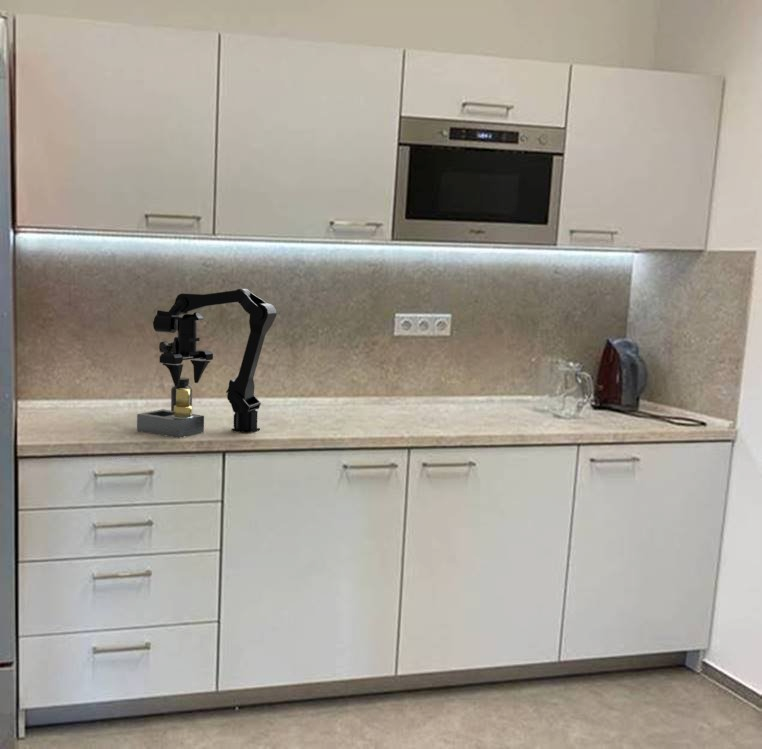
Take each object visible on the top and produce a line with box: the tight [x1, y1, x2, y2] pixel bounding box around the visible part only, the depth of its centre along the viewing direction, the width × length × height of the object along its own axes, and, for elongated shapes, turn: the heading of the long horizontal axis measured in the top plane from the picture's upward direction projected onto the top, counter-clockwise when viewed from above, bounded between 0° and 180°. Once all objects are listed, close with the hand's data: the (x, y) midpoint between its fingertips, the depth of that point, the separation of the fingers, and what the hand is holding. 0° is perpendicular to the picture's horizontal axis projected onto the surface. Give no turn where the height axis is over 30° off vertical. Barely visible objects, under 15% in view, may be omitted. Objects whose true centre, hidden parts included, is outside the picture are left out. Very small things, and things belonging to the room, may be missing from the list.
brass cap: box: [174, 388, 193, 418], centre depth 254 cm, size 5×5×8 cm
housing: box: [136, 408, 205, 439], centre depth 257 cm, size 16×11×5 cm
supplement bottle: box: [170, 377, 193, 411], centre depth 284 cm, size 7×7×12 cm
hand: (186, 384), depth 267 cm, fingers open, 9 cm apart
